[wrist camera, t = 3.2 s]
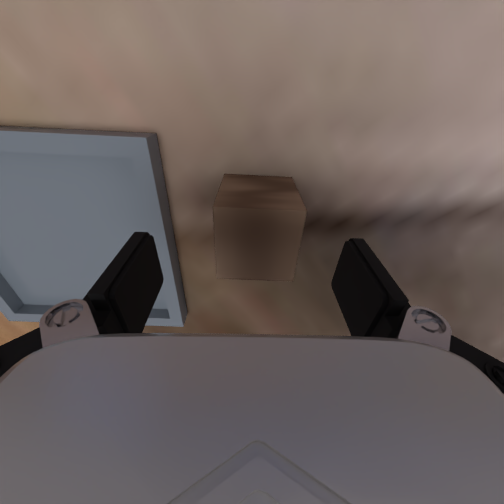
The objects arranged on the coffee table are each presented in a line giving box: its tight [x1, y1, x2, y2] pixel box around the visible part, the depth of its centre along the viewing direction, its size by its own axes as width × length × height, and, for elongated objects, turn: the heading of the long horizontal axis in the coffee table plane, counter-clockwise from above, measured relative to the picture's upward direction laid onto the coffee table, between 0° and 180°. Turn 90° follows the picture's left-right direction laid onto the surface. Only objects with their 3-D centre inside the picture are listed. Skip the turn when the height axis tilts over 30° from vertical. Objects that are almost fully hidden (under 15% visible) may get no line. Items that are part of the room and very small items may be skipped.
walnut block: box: [213, 174, 307, 281], centre depth 16 cm, size 5×5×6 cm
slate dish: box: [0, 126, 187, 327], centre depth 20 cm, size 18×18×2 cm
